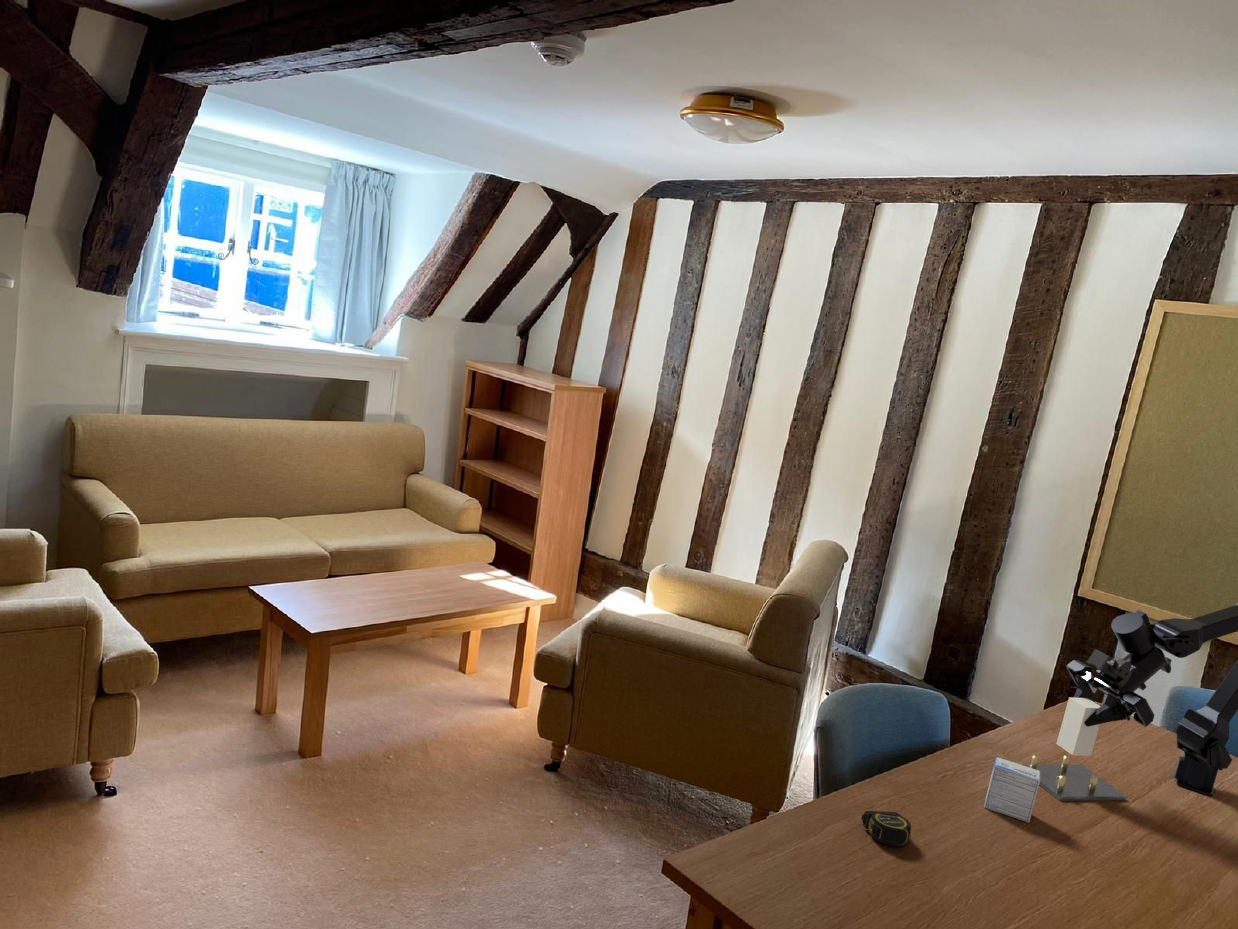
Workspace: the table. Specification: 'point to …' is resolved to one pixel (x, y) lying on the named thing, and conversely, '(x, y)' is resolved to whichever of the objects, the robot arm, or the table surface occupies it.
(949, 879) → the table surface
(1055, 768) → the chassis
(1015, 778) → the medicine box
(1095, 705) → the block
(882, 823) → the tape measure
